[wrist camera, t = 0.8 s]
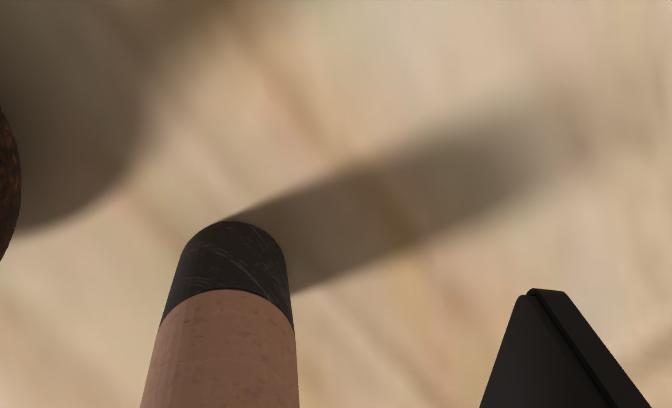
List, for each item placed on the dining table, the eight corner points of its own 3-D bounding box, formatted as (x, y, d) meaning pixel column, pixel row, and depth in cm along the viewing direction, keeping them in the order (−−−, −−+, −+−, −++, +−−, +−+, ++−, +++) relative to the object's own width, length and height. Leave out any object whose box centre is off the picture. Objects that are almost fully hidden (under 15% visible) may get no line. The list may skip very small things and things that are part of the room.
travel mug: (198, 200, 41) (147, 435, 23) (307, 240, 43) (341, 483, 25) (159, 295, 43) (85, 573, 25) (264, 328, 45) (265, 606, 27)
